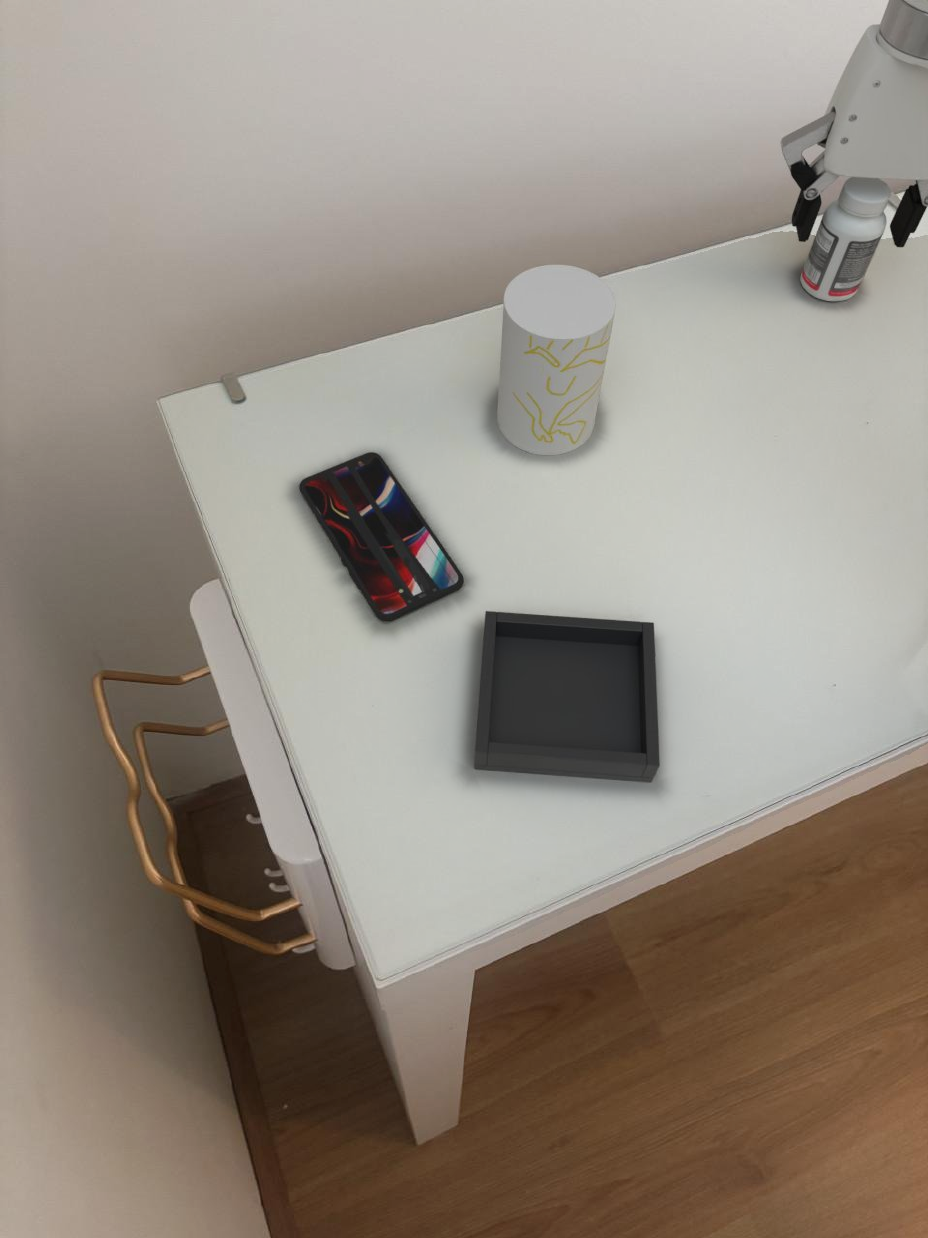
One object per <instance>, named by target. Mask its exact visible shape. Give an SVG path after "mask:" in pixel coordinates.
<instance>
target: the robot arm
mask: <svg viewBox="0 0 928 1238" xmlns="http://www.w3.org/2000/svg"><path fill="white" fill-rule="evenodd" d="M816 144H817V146H819V147H821V148H823V149H824V150H823V151H822V152H821V153H820V154H819V155H818V156H817V157H816V158H815V159H813V161H811V162H810V163H809V162H808V161H807V160H806V158H805V157H804V155H803V152H804V151H806V150H807V149H809V148H811V147H813V146H815V145H816ZM780 147H781V153H782V155H783V158H784V160H785V163H786V166H787V168H788V170H789V172H790V176H791V178H792V179H793V180H794V182H795V184H796V185H797V186H798V187H799V189H800V191H799V194H798V196H797V200H796V203H795V205H794V209H793V210H792V215H791V226H792V227H795V228H796V233H797V234H796V235H797V240H798V242H800V243H801V242H803V243H805V242H806V241H808V240H809V239H810V236H811V234H812V232H813V228H814V225H815V223H816V220H817V217H818V215H819V212H820V209H821V207H822V204H823V203H822V197H821V194H823V192H824V191H825V190H826V189H827V188H829V187H830V186H831V185H832V184H833V183H834V182H835V181H836V180H837V179H839V177H847V178H851V177H861V178H878V179H880V180H897V181H898V180H899V181H900V180H901V181H915V184H914V185H913V184H909V186H908V188H906V189H905V191H904V193H903V195H902V198H901V200H900V202H899V203H898V206H897V208H896V210H895V213H894V215H893V217H892V219H891V220H890V221H891V222H890V223H889V230H890V232H891V236H892V240H893V244H894V246H896V248H905V246H906V243H907V242H908V240H909V237H910V236H911V234H915V232H916V231H917V229H918V227H919V225H920V223H921V221H922V218H923V217H924V215H925V212H926V210H927V209H928V0H888V2H887V5H886V8H885V10H884V11H883V15H882V18H881V21H880V23H879V24H878V23H877V24H871V25H869V26H868V27H867V28H866V29H865V31H864V32H863V34H862V36H861V38H860V39H859V41H858V43H857V44H856V46H855V48H854V49H853V52H852V54H851V55H850V58H849V60H848V62H847V64H846V66H845V68H844V70H843V71H842V73H841V76H840V79H839V80H838V83H837V84H836V87H835V89H834V91H833V93H832V95H831V98H830V101H829V103H828V104H827V108H826V110H825V113H824V115H822V117H819V118H817V119H815V120H812V122H810V123H807V124H805V125H803V126H802V127H800V128H798V129H796V130H794V131H792V132H790V133H788V134H786V135H784V136H783V137H782V138H781V139H780Z"/></svg>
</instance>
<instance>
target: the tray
mask: <svg viewBox="0 0 928 1238" xmlns="http://www.w3.org/2000/svg"><path fill="white" fill-rule="evenodd" d="M483 627H484V628H483V641H482V652H481V666H480V680H479V694H478V705H477V721H476V733H475V747H474V764H473V769H474V770H480V771H494V772H505V773H506V772H507V773H520V774H533V775H545V776H546V775H547V776H558V777H559V776H560V777H572V778H573V777H574V778H586V779H600V780H615V781H627V782H639V783H640V782H641V783H653V780H654V778H655V776H656V774H657V772H658V770H659V769H660V765H661V763H660V741H659V740H660V738H659V716H658V715H659V714H658V689H657V666H656V641H655V639H656V638H655V623H654V622H650V621H649V622H648V621H636V620H635V621H634V620H623V619H622V620H619V619H605V618H591V617H579V616H576V617H575V616H565V615H564V616H563V615H562V616H560V615H548V614H534V613H522V612H521V613H519V612H504V611H490V610H486V611H485V613H484V626H483Z"/></svg>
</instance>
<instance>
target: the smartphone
mask: <svg viewBox="0 0 928 1238" xmlns="http://www.w3.org/2000/svg"><path fill="white" fill-rule="evenodd" d="M298 488H299V492H300V494H301V496H302V497H303V499H304V500H305V502H306V504H307V505H308V507H309V509H310V510H311V512H312V514H313V515H314V517H315V519H316V521H317V522H318V523H319V525H320V527H321V528H322V530H323V531H324V533H325V535H326V537H327V539H328V540H329V541H330V543H331V545H332V546H333V549H334V550H335V551H336V553H337V555H338V556H339V558H340V562H341V563H342V565H343V566H344V568H346V570H347V571H348V575H349V577H350V578H351V580H352V581H353V584H354V585H355V587H356V588H357V590H358V591H360V592H361V595H362V596H363V597H364V599H365V600H366V602H367V604H368V606H369V607H370V609H371V610H372V612H373V613H374V615H375V617H376V618H377V619H378V620H379V621H381V622H383V623H390V622H393V621H395V620H398V619H399V618H402V617H404V616H406V615H408V614H411V613H412V612H415V611H417V610H419V609H421V608H423V607H425V606H428V605H430V604H432V603H434V602H437V601H439V600H440V599H442V598H445V597H447V596H449V595H451V594H453V593H456V592H458V591H459V590H461V589H462V588H463V586H464V583H465V578H464V575H463V573H462V572H461V571H460V569H459V567H458V566H457V564H456V563H455V562H454V559H452V557H451V555H450V554H449V553H448V551H447V550H446V548H445V547H444V546H443V544H442V543H441V541H440V540H439V538H438V537H437V536H436V534H435V532H434V531H433V530H432V529H431V527H430V525H429V523H428V522H427V521H426V520H425V518H424V517H423V515H422V514H421V512H420V511H419V509H418V508H417V507H416V505H415V504H414V502H413V501H412V500H411V497H410V496H409V494H408V493H407V491H406V490H405V489H404V487H403V486H402V484H401V483H400V482H399V480H398V479H397V478H396V476H395V474H394V473H393V471H392V470H391V468H390V467H389V466H388V464H387V463H386V461H385V460H384V458H383V457H382V456H381V454H379V453H377V452H374V451H370V452H366V453H364V454H361V455H359V456H356V457H354V458H350V459H349V460H346V461H344V462H341V463H339V464H337V465H333V466H332V467H329V468H327V469H324V470H322V471H319V472H316V473H315V474H312V475H309V476H307V477H305V478H303V479H302V480H301V481H300V483H299V487H298Z"/></svg>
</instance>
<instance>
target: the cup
mask: <svg viewBox="0 0 928 1238" xmlns="http://www.w3.org/2000/svg"><path fill="white" fill-rule="evenodd" d="M502 307H503V308H502V310H503V311H502V322H501V323H502V325H501V340H500V342H501V343H500V346H501V347H500V360H499V376H498V377H499V378H498V393H497V394H498V395H497V398H498V399H497V411H496V412H497V414H496V421H497V422H496V423H497V426H498V428H499V431H500V432H501V434H502V435H503V437H504V438H505V440H507V441H508V443H510V444H511V445H513V446H514V447H516V448H518V449H519V450H522V451H523V452H526V453H530V454H533V455H538V456H558V455H559V456H560V455H563V454H567V453H570V452H572V451H574V450H577V449H579V448H580V447H581V446H583V445H584V444H585V443H586V442H587V441H588V440H589V438H590V437H591V436H592V433H593V432H594V428H595V423H596V416H597V412H598V406H599V400H600V396H601V390H602V385H603V379H604V373H605V368H606V362H607V357H608V351H609V347H610V341H611V335H612V331H613V326H614V325H613V324H614V319H615V313H616V308H617V301H616V296H615V294H614V292H613V290H612V288H611V287H610V285H608V283H606V281H605V280H603V279H602V278H601V277H600V276H598V275H596V274H595V273H593V272H592V271H589V270H588V269H587V270H586V269H584V268H581V267H578V266H573V265H567V264H545V265H539V266H536V267H532V268H529V269H527V270H525V271H523V272H521V273H519V274H517V275H516V276H514V278H513V279H512V280H511V281H510V282H509V283H508V285H507V286H506V288H505V291H504V293H503V305H502Z"/></svg>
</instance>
